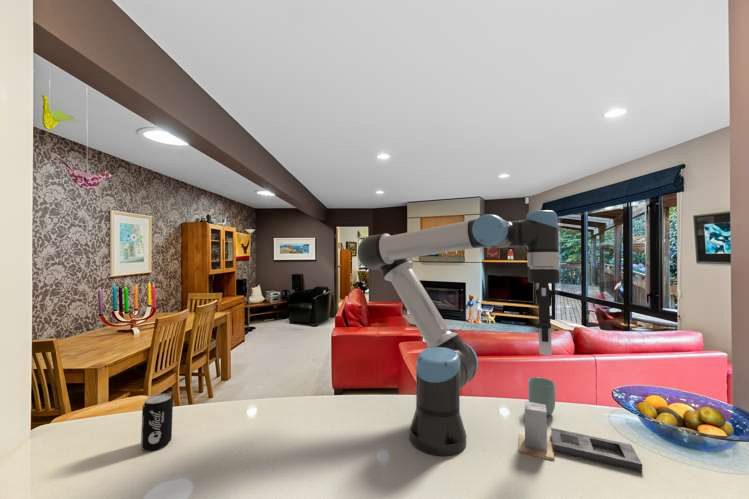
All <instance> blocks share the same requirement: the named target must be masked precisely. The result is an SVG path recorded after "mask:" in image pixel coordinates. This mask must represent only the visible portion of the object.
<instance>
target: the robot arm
mask: <svg viewBox="0 0 749 499" xmlns="http://www.w3.org/2000/svg"><path fill="white" fill-rule="evenodd" d="M559 246H560V245H559V222H558V213H556V212H555V211H554V210H548V209H546V210H535V211H530V212H527V214H526V217H525V219H519V220H505V219H503V217H501V216H499V215H497V214H491V213H489V214H482V215H480V217H478V218H475V219H471V220H464V221H461V222H455V223H450V224H445V225H439V226H434V227H429V228H423V229H419V230H414V231H409V232H404V233H398V234H393V235H391V234H389V233H381V234H375V235H374V234H372V235H368V236H366V237H365V238H362V240H361V241H360V243H359V244H358V248H357V258H358V261H359V262H360V264H361V265H362V266H363V267H365V268H366V269H368V270H373V271H379V272H380V274H381V275H382V277H383V279H384V281H387V282H390V283H391V285H392V287H393V288H394V290H395V291H396V293H397V295H398V296H399V298H400V299H401V302H402V303H403V305H404V307H405V309H406V310H407V312H408V314H409V315H410V317H411V319H412V320H413V323H414V324H415V326H416V328H417V329H418V331H419V333H420V335H421V336H422V338H423V339H424V341H425V343H426V348H425V349H422V350H421V351H420V352H419V353H418V354H417V356H416V357H417V358H416V364H415V372H416V373H415V376H416V377H415V378H416V382H415V384H416V386H415V390H416V391H415V395H416V396H415V401H416V402H415V403H416V405H415V406H416V407H415V412H414V415H413V418H412V420H411V423H410V426H409V440H410V443H411V444H412V445H413V447H415V448H416V449H418V450H419V451H421V452H424V453H426V454H430V455H434V456H439V457H440V456H443V457H446V456H455V455H458V454H460V453H461V452H463V451H464V450H465V449H466V448H467V433H466V430H465V426H464V423H463V419H462V417H461V416H462V415H461V412H460V409H461V408H460V403H461V402H460V401H461V400H460V399H461V397H460V395H461V394H460V392H461V389H463V387H464V386H466V384H467V383H469V382H471V380H473V378H474V377H475V375H476V373H477V371H478V368H479V367H478V366H479V360H478V355H477V353H476V351H475V350H474V349H473V347H472V346H470V344H468V343H465V342H464V341H463V340H462V338H461V337H460V336H459V334H458V333H457V332H453V331H451V330H450V328H449V327H448V325H447V323H446V322H445V320H444V318H443V316H442V315H441V314H440V312H439V310H438V308H437V307H436V305H435V304H434V302H433V301H432V299H431V297H430V295H429V294H428V292H427V291H426V289H425V287H424V286H423V284H422V283H421V281H420V279H419V278H418V276H417V275H416V272H414V270H413V267H414V264H415V263H414V262H413V258H418V257H423V256H430V255H438V254H439V255H440V254H443V253H444V254H445V253H450V252H456V251H464V250H469V249H479V248H487V249H500V248H505V249H506V248H507V249H508V248H525V247H527V251H526V252H527V253H526V256H527V257H526V258H527V259H526V262H527V267H528V268H529V269H528V270H527V282H528V283H529V284H530V283H531V284H538V288H537V289H535V297H536V305H537V306H538V323H535V328H537V329H538V349H539V350H538V352H539V355H543V356H552V355H553V354H552V353H553V352H552V347H553V346H552V323H551V320H553V319H554V316H553V315H551V309H550V308H551V306H552V304H553V303H552V298H553V290H552V289H550V286H549V284H553V285H554V284H555V285H556V284H559V283H560V281H561V280H560V270H559V269H557V268H559V267H560V261H559V260H561V259H562V255H560V254H559Z"/></svg>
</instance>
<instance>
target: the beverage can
mask: <svg viewBox="0 0 749 499" xmlns="http://www.w3.org/2000/svg"><path fill="white" fill-rule="evenodd" d="M173 402H174V401H173V399H172V395H171V394H170V393H158V394H154V395H150V396H148V397H146V398H145V400H144V403H143V405H142V410H141V411H142V412H141V431H140V432H141V433H140V435H141V436H140V438H141V439H140V447H141V448H142V449H143V450H144V451H146V452H153V451H157V450H160V449H163V448H165V447H166V446H168V445H169V443H170V442H171V441H172V436H173V435H172V434H173V411H174V410H173V407H174V403H173Z"/></svg>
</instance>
